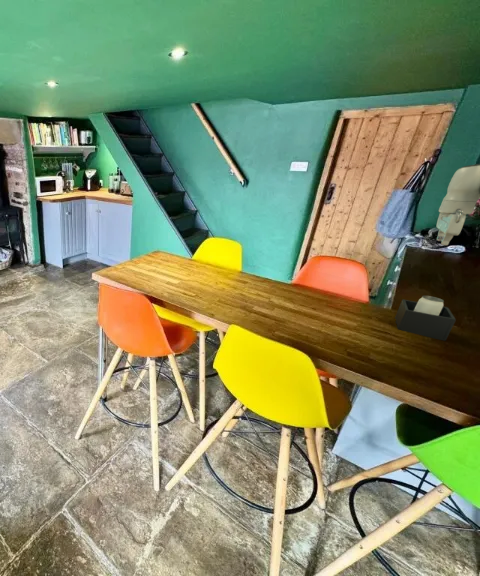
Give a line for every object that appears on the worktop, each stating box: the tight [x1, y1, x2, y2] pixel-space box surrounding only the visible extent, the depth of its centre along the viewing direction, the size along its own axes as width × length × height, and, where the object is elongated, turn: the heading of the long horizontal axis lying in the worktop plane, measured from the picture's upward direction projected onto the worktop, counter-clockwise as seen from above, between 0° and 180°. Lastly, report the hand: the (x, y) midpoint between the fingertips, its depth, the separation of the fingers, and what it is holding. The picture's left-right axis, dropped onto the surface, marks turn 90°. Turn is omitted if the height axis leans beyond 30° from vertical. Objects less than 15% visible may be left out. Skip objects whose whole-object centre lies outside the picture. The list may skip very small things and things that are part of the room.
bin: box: [394, 299, 457, 342], centre depth 114 cm, size 13×13×9 cm
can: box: [414, 295, 445, 316], centre depth 113 cm, size 6×6×12 cm
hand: (441, 242), depth 123 cm, fingers open, 8 cm apart
